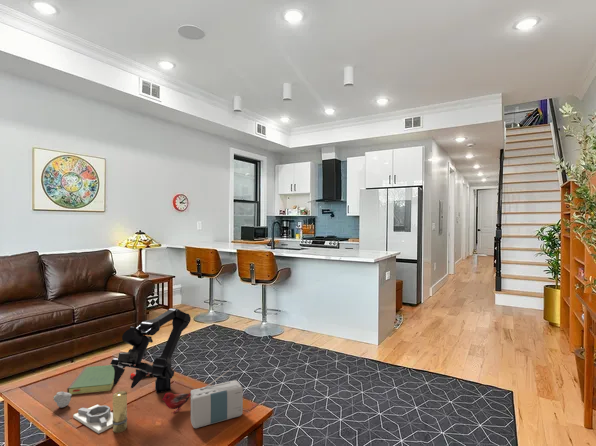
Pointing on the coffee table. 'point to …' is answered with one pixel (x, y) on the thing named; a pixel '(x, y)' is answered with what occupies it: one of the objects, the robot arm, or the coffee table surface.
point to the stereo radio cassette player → (216, 403)
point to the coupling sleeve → (119, 411)
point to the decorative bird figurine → (175, 400)
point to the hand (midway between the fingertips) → (122, 386)
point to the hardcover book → (93, 380)
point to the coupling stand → (95, 417)
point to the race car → (135, 374)
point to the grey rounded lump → (62, 399)
